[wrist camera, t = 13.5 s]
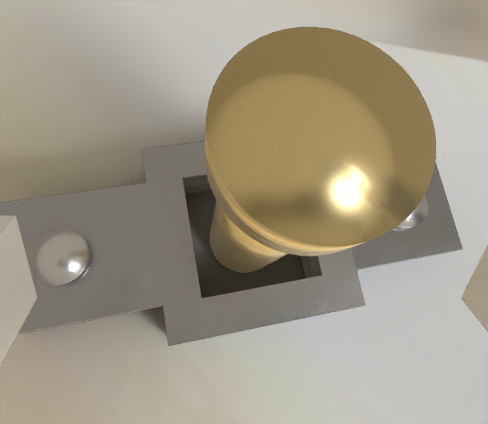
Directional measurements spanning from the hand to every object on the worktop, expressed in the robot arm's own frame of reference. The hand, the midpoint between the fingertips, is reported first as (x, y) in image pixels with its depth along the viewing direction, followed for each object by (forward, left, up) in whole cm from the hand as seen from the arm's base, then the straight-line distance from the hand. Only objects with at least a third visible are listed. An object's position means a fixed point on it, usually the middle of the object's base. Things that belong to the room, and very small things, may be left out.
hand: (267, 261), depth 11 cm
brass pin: (-1, -2, -11) cm, 11 cm away
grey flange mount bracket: (-1, -2, -11) cm, 11 cm away
